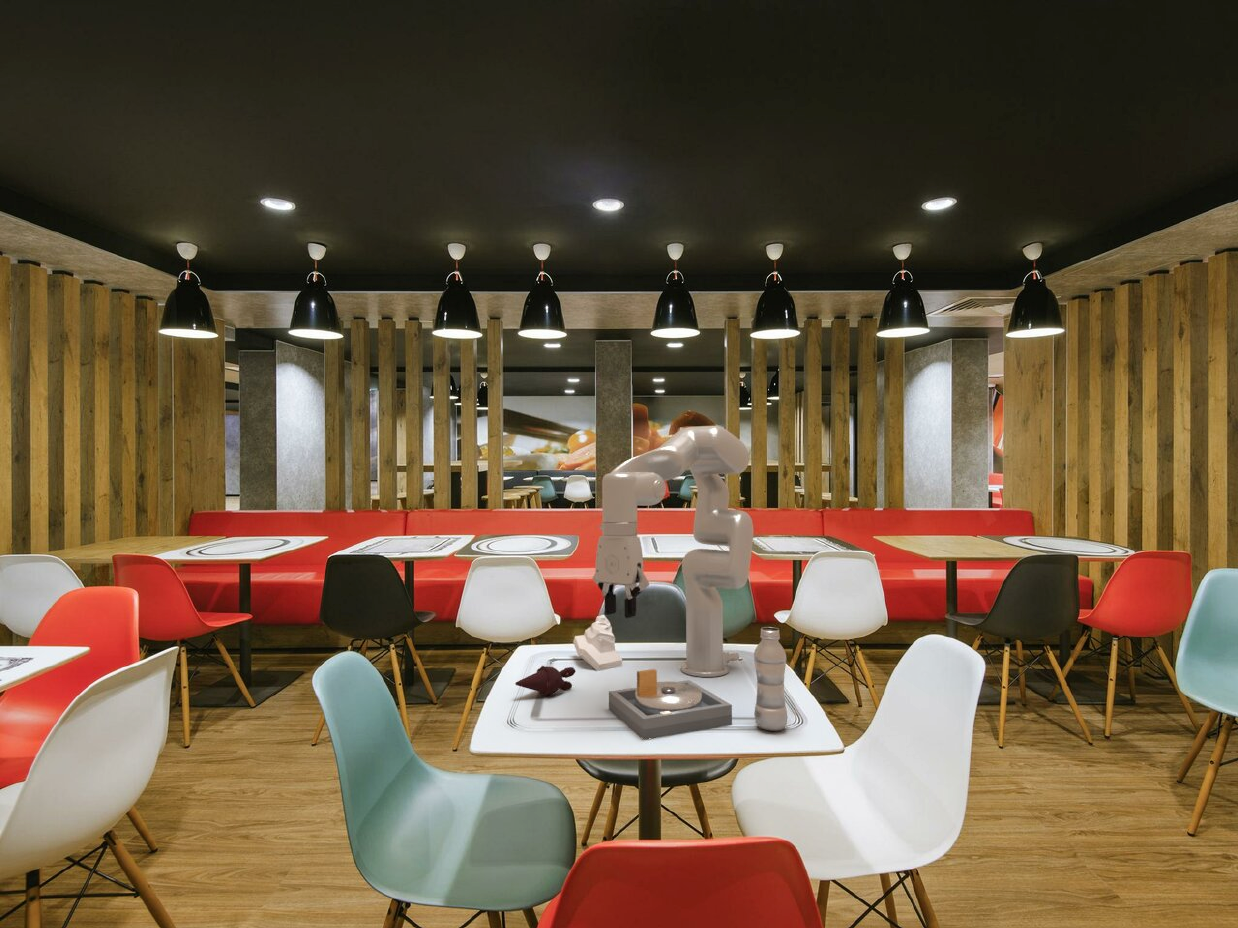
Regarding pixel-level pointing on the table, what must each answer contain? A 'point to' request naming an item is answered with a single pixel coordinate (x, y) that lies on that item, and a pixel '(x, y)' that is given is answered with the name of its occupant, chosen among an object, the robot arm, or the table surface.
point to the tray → (670, 714)
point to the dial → (664, 694)
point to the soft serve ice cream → (598, 645)
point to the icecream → (548, 680)
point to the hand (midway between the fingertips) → (620, 614)
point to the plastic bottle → (770, 681)
